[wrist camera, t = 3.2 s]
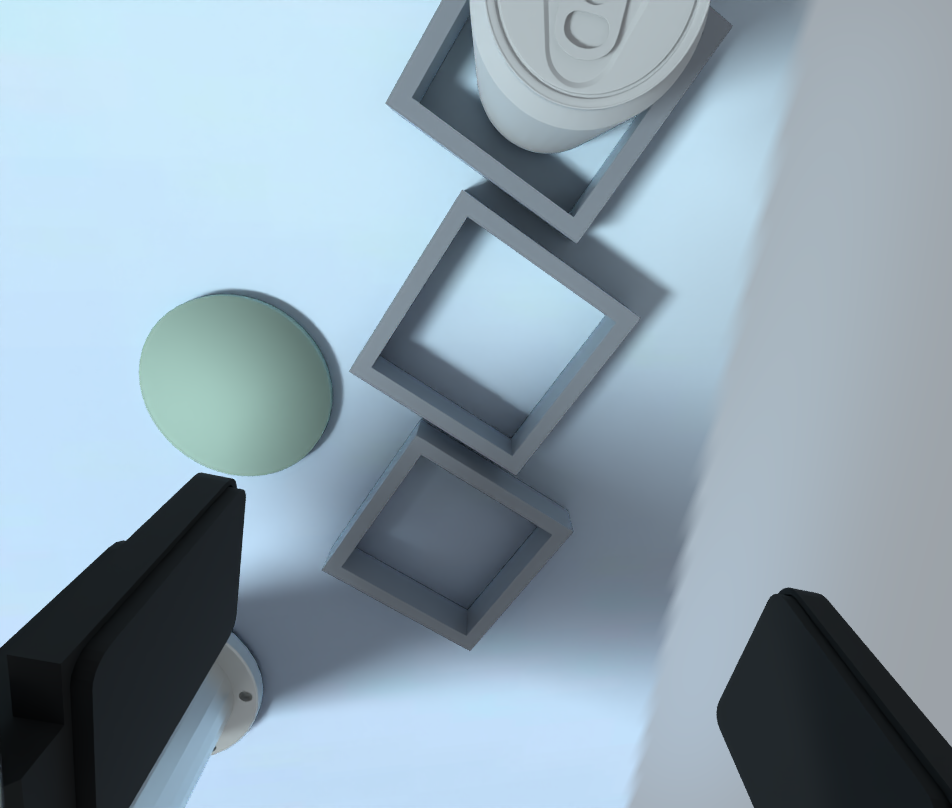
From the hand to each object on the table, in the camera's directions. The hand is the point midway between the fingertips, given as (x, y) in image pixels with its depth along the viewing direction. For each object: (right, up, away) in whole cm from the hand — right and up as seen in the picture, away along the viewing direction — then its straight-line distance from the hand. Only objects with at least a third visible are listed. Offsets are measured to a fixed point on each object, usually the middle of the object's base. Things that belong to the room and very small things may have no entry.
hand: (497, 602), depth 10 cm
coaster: (-13, +4, +20) cm, 25 cm away
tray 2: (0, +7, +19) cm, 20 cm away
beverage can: (+3, +18, +15) cm, 24 cm away
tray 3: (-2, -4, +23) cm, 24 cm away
